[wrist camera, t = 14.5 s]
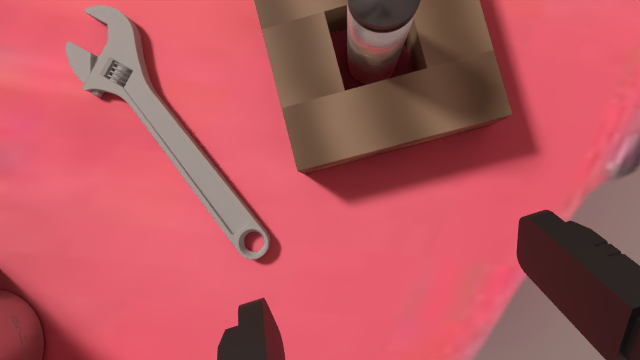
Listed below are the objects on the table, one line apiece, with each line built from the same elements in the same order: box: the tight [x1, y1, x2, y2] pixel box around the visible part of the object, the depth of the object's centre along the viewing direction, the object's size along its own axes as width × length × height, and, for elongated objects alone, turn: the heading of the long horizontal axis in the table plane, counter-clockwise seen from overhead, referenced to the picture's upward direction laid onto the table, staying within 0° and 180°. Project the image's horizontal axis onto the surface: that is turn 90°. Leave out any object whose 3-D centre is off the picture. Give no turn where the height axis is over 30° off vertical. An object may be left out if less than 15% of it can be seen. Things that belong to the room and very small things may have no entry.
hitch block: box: [254, 0, 512, 174], centre depth 29 cm, size 15×15×4 cm
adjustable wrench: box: [66, 5, 271, 259], centre depth 32 cm, size 25×6×2 cm, turn 34°
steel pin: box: [347, 0, 421, 85], centre depth 26 cm, size 4×4×11 cm
